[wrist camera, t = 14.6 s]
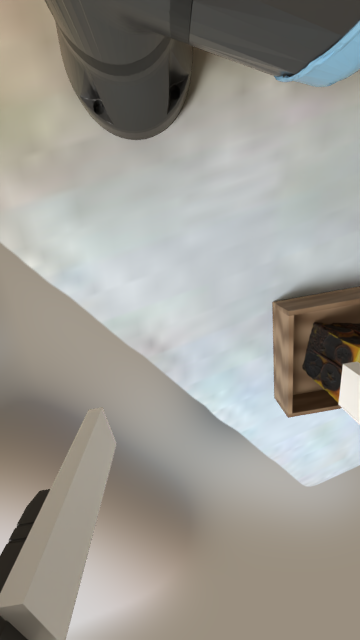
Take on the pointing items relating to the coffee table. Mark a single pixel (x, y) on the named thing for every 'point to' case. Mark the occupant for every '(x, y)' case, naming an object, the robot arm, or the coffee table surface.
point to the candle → (331, 353)
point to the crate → (291, 343)
